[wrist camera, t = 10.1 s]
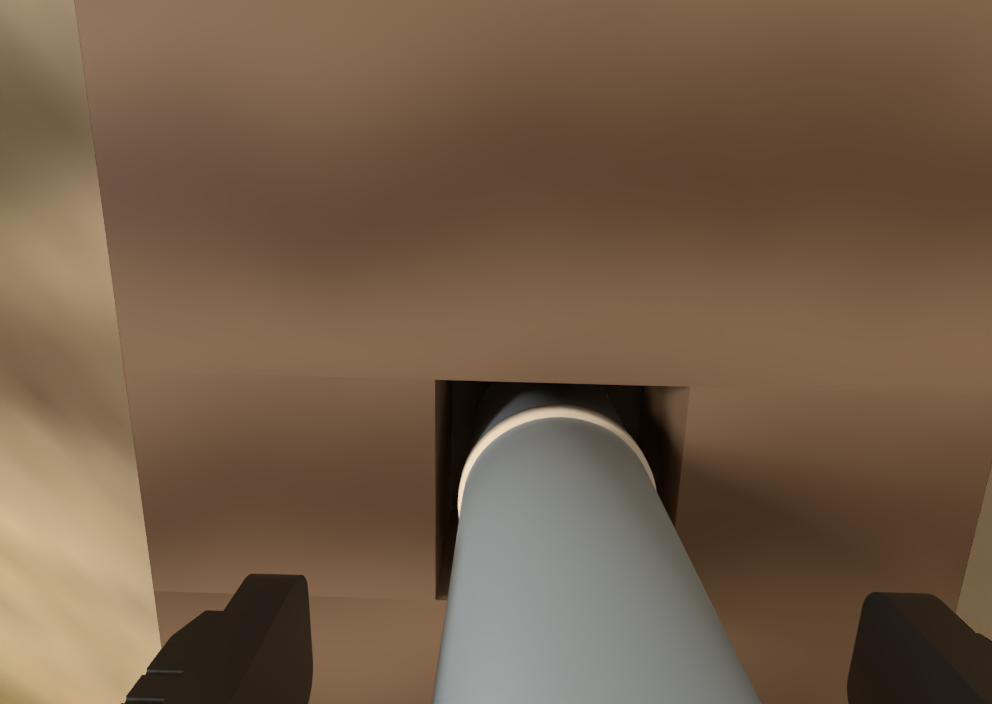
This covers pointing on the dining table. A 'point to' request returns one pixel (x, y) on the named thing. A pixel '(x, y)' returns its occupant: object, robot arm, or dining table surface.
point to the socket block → (551, 293)
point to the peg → (573, 567)
